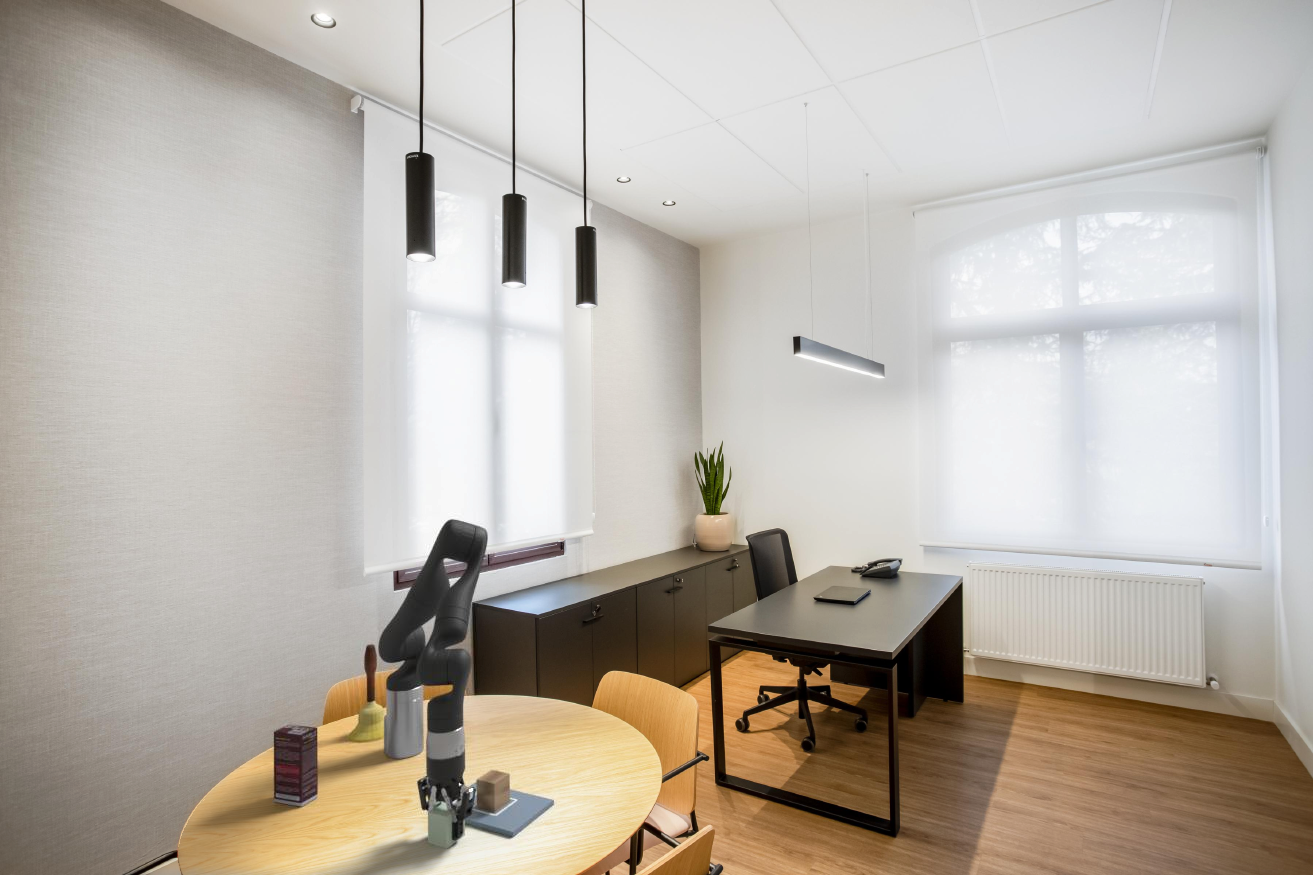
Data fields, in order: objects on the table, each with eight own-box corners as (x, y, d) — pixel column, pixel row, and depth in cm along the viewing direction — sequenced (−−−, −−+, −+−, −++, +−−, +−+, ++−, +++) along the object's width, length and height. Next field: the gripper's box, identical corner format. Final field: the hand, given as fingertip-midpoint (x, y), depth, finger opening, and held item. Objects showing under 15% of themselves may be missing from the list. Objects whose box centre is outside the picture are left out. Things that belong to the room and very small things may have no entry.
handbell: (337, 739, 185) (336, 648, 186) (371, 723, 196) (371, 638, 197) (370, 745, 180) (369, 652, 181) (403, 728, 191) (402, 641, 193)
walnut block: (476, 807, 143) (476, 779, 143) (492, 796, 147) (491, 769, 147) (494, 812, 140) (494, 783, 141) (510, 801, 145) (509, 773, 145)
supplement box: (319, 797, 151) (318, 726, 152) (301, 807, 147) (301, 735, 148) (290, 792, 154) (290, 723, 155) (272, 802, 150) (272, 731, 150)
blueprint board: (432, 813, 142) (432, 808, 142) (477, 785, 155) (477, 780, 155) (513, 836, 133) (513, 831, 133) (554, 804, 145) (553, 799, 145)
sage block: (428, 842, 131) (427, 811, 132) (446, 829, 136) (446, 800, 136) (447, 848, 129) (446, 816, 130) (464, 835, 134) (464, 804, 134)
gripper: (405, 750, 133) (406, 836, 132) (459, 763, 127) (460, 853, 126) (433, 736, 140) (434, 818, 139) (485, 747, 134) (487, 833, 133)
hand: (446, 834), depth 133 cm, fingers closed on sage block, 5 cm apart
